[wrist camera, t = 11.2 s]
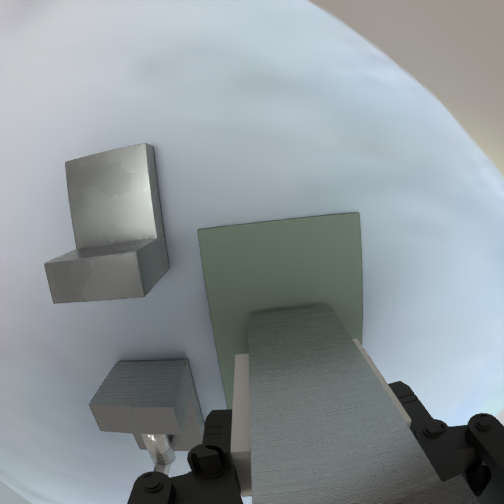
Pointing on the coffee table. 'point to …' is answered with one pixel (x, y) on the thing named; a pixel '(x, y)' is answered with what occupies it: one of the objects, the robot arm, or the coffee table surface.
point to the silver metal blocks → (126, 295)
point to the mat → (279, 276)
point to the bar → (330, 421)
